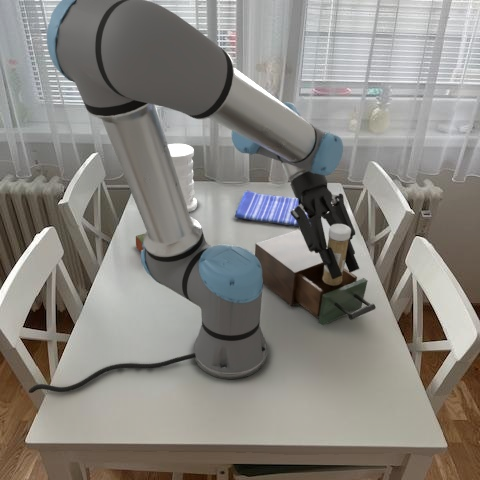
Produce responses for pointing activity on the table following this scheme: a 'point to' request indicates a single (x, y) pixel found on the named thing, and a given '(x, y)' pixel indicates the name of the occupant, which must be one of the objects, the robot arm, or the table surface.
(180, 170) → the decorative container
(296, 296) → the drawer
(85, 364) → the table surface
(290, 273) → the cabinet
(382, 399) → the table surface
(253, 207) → the dish towel
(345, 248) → the sprinkles bottle
